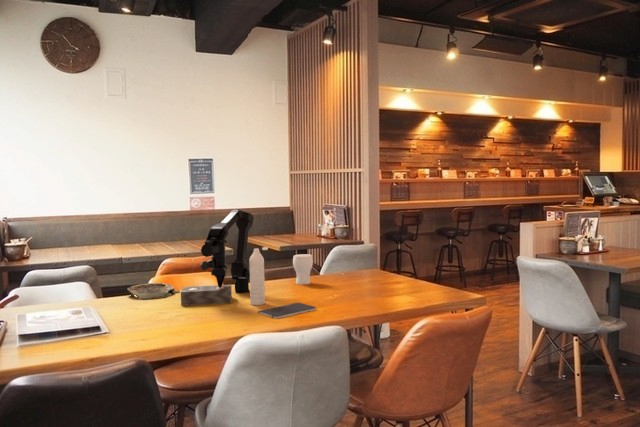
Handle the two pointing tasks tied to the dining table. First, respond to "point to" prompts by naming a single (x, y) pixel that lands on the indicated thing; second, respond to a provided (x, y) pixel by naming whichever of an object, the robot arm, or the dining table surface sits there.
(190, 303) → the block
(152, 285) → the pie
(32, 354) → the dining table surface
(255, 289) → the water bottle
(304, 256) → the cup
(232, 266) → the robot arm
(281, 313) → the notebook
